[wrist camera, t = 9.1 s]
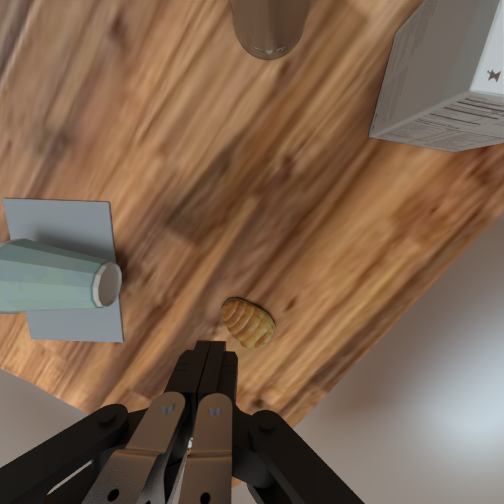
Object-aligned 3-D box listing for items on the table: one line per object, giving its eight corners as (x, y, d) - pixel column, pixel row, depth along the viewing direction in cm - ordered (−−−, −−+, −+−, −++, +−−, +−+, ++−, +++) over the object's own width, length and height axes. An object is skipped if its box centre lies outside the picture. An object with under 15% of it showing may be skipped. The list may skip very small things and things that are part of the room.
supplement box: (454, 154, 36) (633, 123, 19) (366, 138, 36) (468, 91, 19) (491, 48, 33) (746, -103, 16) (394, 29, 32) (549, -148, 15)
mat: (5, 198, 38) (2, 198, 38) (110, 202, 38) (108, 202, 38) (33, 337, 44) (31, 339, 44) (124, 341, 44) (122, 342, 44)
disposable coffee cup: (93, 248, 30) (-33, 232, 30) (81, 337, 30) (-47, 322, 30) (133, 250, 41) (40, 238, 40) (124, 316, 41) (30, 304, 40)
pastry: (212, 314, 43) (208, 326, 39) (238, 286, 42) (236, 296, 38) (253, 346, 44) (253, 360, 41) (279, 320, 43) (281, 332, 39)
